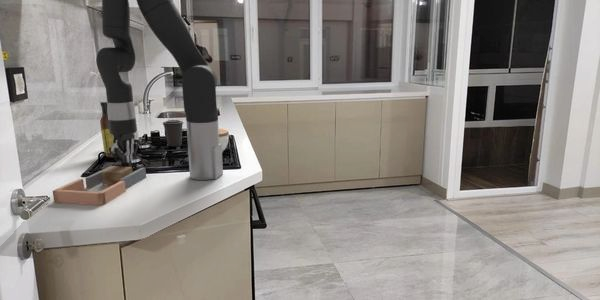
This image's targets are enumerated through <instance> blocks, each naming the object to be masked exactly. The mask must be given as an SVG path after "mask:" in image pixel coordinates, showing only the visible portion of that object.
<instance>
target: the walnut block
mask: <svg viewBox="0 0 600 300" xmlns="http://www.w3.org/2000/svg"><path fill="white" fill-rule="evenodd" d="M112 166H113V167H111V168H109V169H106V170H104V171H102V172H101V175H102V183H101V184H102V185H103V186H112V185H114V184H116V183H118V182H119V179H121V178H123V177H125V176H127V175H129V174H130V173H132V172H134V171H133V166H132V167H122V165H121V166H119V165H118V166H116V165H115V166H114V165H112Z"/></svg>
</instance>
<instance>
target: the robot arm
mask: <svg viewBox="0 0 600 300" xmlns="http://www.w3.org/2000/svg"><path fill="white" fill-rule="evenodd" d="M136 4H137V7H138V9H139V11H140V13H141V14H142V16H143V18H144V20H145V21H146V22H145V23H146V24H147V25H148V27H149V28H150V30H151V31H152V32H153V34H154V36H155V37H156V38H157V40H158V41H159V42H160V43H161V44H162V45H163V47H165V48H166V50H167V51H168V52H169V53H170V55H171V56H172V57H173V58H174V60H175V62H176V64H177V65H178V67H179V69H180V72H181V74H182V81H181V84H182V86H181V88H182V99H183V110H184V113H185V121H186V136H187V137H186V138H187V153H188V165H189V167H188V168H189V178H190V179H192V180H197V181H208V180H217V179H218V178H220V177H221V176H222V175H223V174H224V169H223V166H224V165H223V152H222V145H221V144H219V129H220V128H219V113H218V107H217V90H216V89H217V88H216V87H217V84H218V77H217V75H216V73H215V71H214V70H213V69H212V67H211V66H210V64H209V63H208V62H207V60H206V59H205V57H204V56H203V55H202V53H201V52H200V50H199V49H198V47H197V45H196V44H195V42H194V39H193V37H192V35H191V33H190V31H189V29H188V27H187V25H186V23H185V21H184V19H183V17H182V14H181V13H180V11H179V9H178V8H177V6H176V4H175V2H174V1H173V0H136ZM101 7H102V8H101V9H102V11H101V13H102V15H101V19H102V20H101V21H102V22H101V25H102V26H101V27H102V34H103V36H104V37H106V38H108V39H112V42H113V44H114V47H110V46H109V47H103V48H101V49H99V51H97V54H96V59H95V60H96V61H95V63H96V67H97V70H98V72H99V75H100V78H101V80H102V83H103V85H104V87H105V93H106V101H107V113H108V122H109V132H110V134H112V135H113V136H114V139H113V143H114V145H113V147H112V148H111V147H110V148H109V152H110V153H111V155H112V156H113V157H112V158H113V159H114V160H115V161H116V162H118V163H121V167H132V168H133V166H132V162H133V159H134V158H136V155H137V152H138V149H139V147H138V146H140V139H139V140H137V139H135V136H134V133H135V132H136V131H137V126H136V121H137V119H136V117H137V115H136V108H135V103H134V95H133V86H132V84H131V82H129V81H126V80H123V79H122V77H121V74H120V73H128V72H130V71H132V70H133V68H134V66H135V64H136V53H135V48H134V44H133V40H132V36H131V31H130V30H131V28H130V27H131V26H130V25H131V24H130V23H131V11H130V2H129V0H101Z"/></svg>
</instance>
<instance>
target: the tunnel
mask: <svg viewBox="0 0 600 300" xmlns="http://www.w3.org/2000/svg"><path fill="white" fill-rule="evenodd" d="M113 166H114V165H110V166H108V167H106V168H104V169H100V170H99V171H97V172H95V173H93V174H91V175H89V176H86V177H85V178H84V179H85V185H86V186H85V187H86V188H85V189H92V188H94V187H96V186H98V185H100V184H103V183H102V175H101V172H102V171H104V170H106V169H109V168H111V167H113ZM146 178H147V171H146V167H141V168H138V169H136V170H134V171H133V172H132V173H130V174H129V175H127V176H125V177H123V178H121V179H119V181H125V189H126V190H127V189H128V188H129V189H130V188H131V187H132V186H134V185H135V184H137V183H139V182H140V181H143V180H144V179H146Z"/></svg>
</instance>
